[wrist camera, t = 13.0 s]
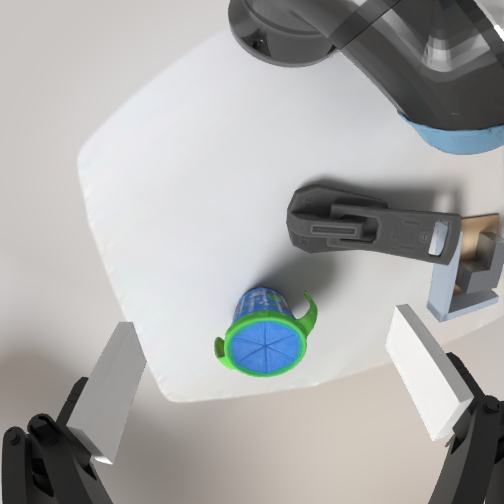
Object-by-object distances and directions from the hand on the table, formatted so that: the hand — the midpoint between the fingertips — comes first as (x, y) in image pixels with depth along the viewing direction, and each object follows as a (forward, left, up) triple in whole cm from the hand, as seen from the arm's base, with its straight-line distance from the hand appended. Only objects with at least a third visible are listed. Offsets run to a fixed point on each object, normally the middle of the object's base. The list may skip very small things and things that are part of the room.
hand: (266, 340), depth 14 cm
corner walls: (+14, +37, -27) cm, 48 cm away
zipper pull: (+5, +16, -27) cm, 32 cm away
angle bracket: (+13, +38, -26) cm, 48 cm away
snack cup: (+16, -1, -27) cm, 31 cm away
